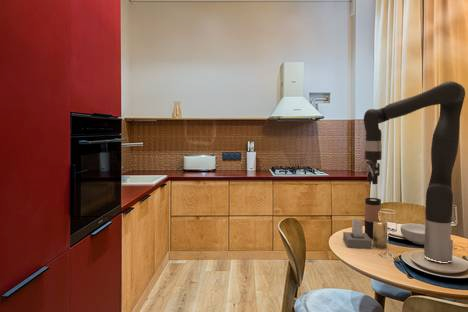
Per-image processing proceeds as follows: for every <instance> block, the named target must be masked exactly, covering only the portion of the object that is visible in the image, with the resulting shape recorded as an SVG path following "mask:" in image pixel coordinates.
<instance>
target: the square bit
mask: <svg viewBox="0 0 468 312" xmlns="http://www.w3.org/2000/svg"><path fill="white" fill-rule="evenodd" d="M351 220H352V221H351V232H352V238H362V233H363V229H364V228H363V225H364V223H363V220H362V219H359V218H357V219H356V218H352V219H351Z"/></svg>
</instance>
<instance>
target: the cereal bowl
mask: <svg viewBox="0 0 468 312" xmlns="http://www.w3.org/2000/svg"><path fill="white" fill-rule="evenodd" d="M400 234H401V235H402V236H403V237H404V238H405V239H406V240H408V241H410V242H411V241H412V242H411V243H413V244H417V245H423V246H424V243H425V224H422V223H421V224H420V223H403V224H401V225H400Z"/></svg>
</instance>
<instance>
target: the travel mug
mask: <svg viewBox="0 0 468 312" xmlns="http://www.w3.org/2000/svg"><path fill="white" fill-rule="evenodd" d="M380 210H381V211H382V199H381V198H376V197H365V200H364V233H366V234H367V235H368V236H369V237H370V239H373V223H374V221H379V219H378V211H380Z"/></svg>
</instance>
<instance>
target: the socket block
mask: <svg viewBox="0 0 468 312" xmlns="http://www.w3.org/2000/svg"><path fill="white" fill-rule="evenodd" d="M342 234H343V235H342V240H343V242H344V244H345V246H346V248H350V249H353V248H354V249H368V250H370V249H371V250H372V249H373V239H372V238H370V237H369V236H368V235H367V234H366V233H365V232H362V238H352V231H351V232H349V231H343V233H342Z"/></svg>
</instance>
